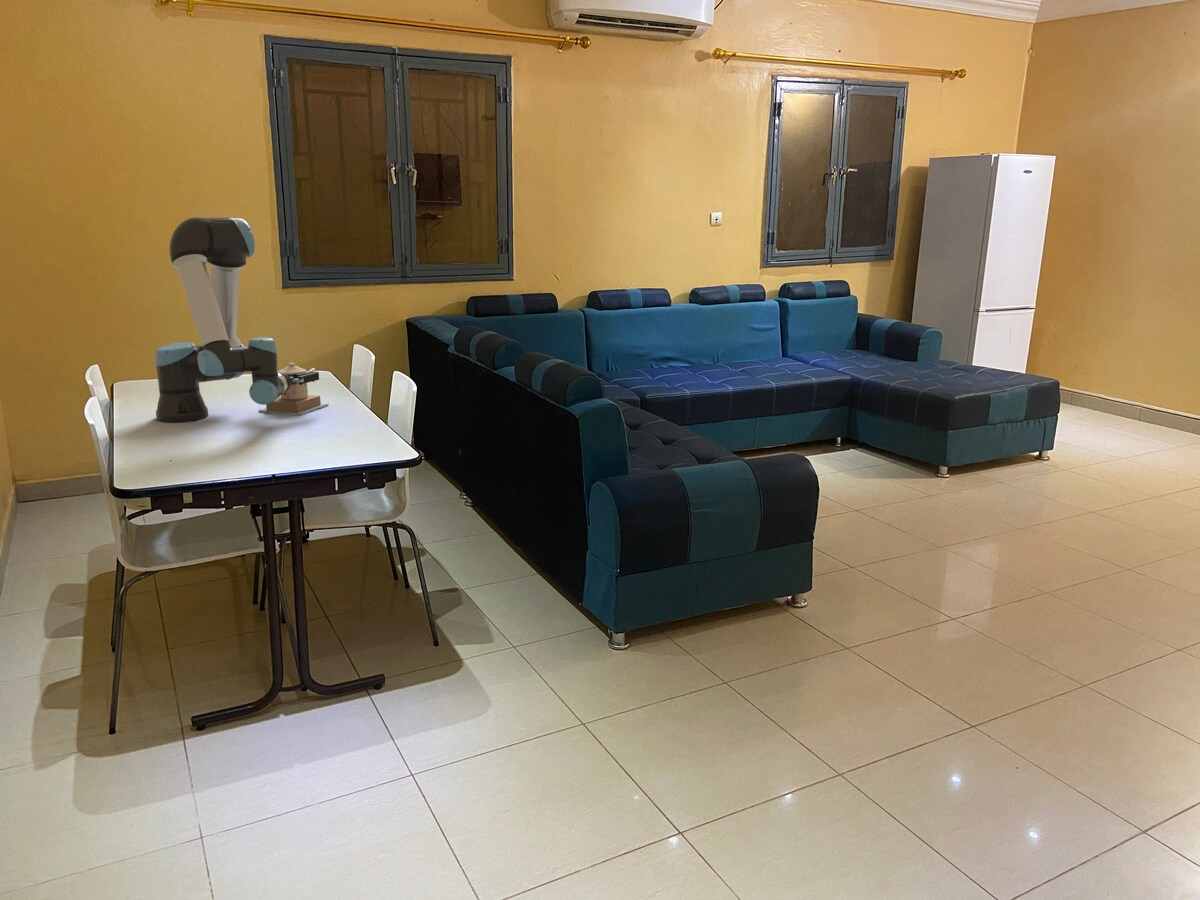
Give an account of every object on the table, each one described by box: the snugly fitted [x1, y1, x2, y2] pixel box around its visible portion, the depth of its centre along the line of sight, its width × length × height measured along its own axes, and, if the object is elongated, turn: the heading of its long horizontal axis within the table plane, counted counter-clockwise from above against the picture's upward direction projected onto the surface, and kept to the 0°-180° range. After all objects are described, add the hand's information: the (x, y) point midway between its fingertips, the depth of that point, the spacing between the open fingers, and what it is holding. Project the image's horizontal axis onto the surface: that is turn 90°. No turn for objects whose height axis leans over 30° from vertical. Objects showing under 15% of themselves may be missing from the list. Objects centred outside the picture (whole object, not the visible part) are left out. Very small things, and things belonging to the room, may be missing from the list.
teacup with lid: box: [280, 362, 309, 400], centre depth 292 cm, size 12×9×12 cm
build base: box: [258, 394, 329, 416], centre depth 294 cm, size 16×16×4 cm
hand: (293, 371), depth 295 cm, fingers open, 13 cm apart
